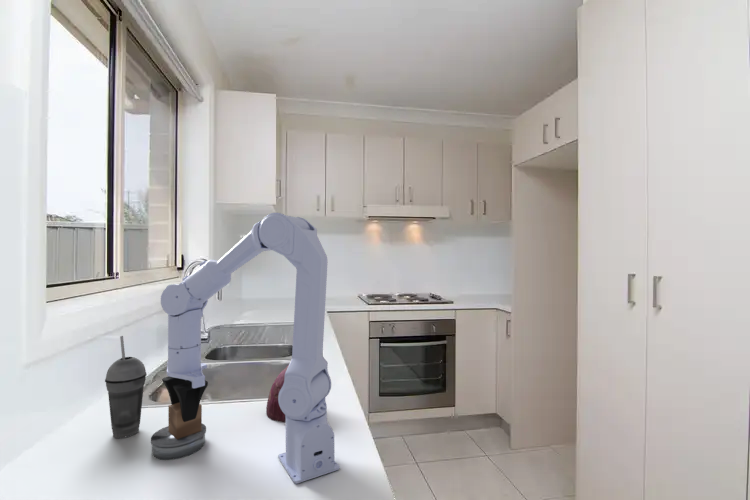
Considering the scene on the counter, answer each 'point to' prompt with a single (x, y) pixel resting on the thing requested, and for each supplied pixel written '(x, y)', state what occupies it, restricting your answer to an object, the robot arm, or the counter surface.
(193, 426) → the walnut block
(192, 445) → the grey tin
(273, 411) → the vegetable
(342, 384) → the counter surface
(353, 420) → the counter surface
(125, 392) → the beverage cup
